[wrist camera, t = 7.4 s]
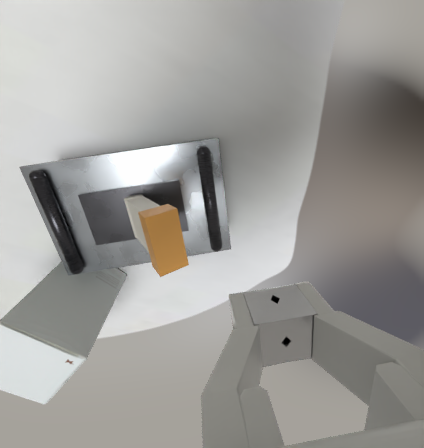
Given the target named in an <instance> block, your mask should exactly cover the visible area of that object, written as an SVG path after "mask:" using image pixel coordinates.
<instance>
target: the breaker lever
mask: <svg viewBox="0 0 424 448" xmlns="http://www.w3.org/2000/svg"><path fill="white" fill-rule="evenodd" d="M124 201H125V205H126V208H127V211H128V215H129V218H130V222H131V225H132V229H133V232H134V235H135V238H137V239H138V240H139V241H140V242H141V244H142V245H143V246H144V247H145V249H146V250H147V251H148V252H149V254H150V258H151V262H152V265H153V267H154V269H155V270H156V271H157V273H158V274H159V276H160V277H161V276H164V275H166V274H168V273H171V272H173V271H175V270H178V269H180V268H182V267H185V266H187V265H189V264H188V259H187V254H186V249H185V244H184V239H183V234H182V229H181V224H180V219H179V214H178V209H177V208H175V207H173V206H171V205H169V204H166V205H162V206H160V205H158V204H156V203H155V202H153V201H151V200H149V199H148V198H146V197H144V196H143V195H141V194H139V195H132V196H129V197H126V198H124Z"/></svg>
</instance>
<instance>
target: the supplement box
mask: <svg viewBox="0 0 424 448" xmlns="http://www.w3.org/2000/svg"><path fill="white" fill-rule="evenodd" d="M126 276H127V274H125V273H124V272H122V271H120V270H119V269H117V268H112V269H106V270H100V271H94V272H87V273H81V274H75V275H69V276H68V274H67V271H66V269H65V267H64V265H63V263H62V262H61V263H60V264H59V265H58V266H57V267H55V268H54V269H53V270H52V271H51V272H50V273H49V274H48V275H47V276H46V277H45V278H44V279H43V280H42V281H41V282H40V283H39V284H38V285H37V286H36V287H35V288H34V289H33V290H32V291H30V292H29V293H28V294H27V295H26V296H25V297H24V298H23V299H22V300H21V301H20V302H19V303H18V304H17V305H16V306H15V307H14V308H13V309H12V310H10V311H9V312H8V313H7V314H6V315H5V316H4V317H3V318H2V319H1V320H0V390H2V391H5V392H8V393H11V394H14V395H17V396H20V397H23V398H26V399H29V400H33V401H36V402H39V403H41V404H46V403H47V402H48V401H49V400H50V399H51V398H52V397H53V396H54V395H55V394H56V392H57V391H58V390H59V389H60V388H61V387H62V386H63V385H64V384H65V383H66V381H68V379H69V378H70V377H71V376H72V375H73V373H74V372H75V371H76V370H77V369H78V368H79V367H80V366H81V365H82V363H83V362H85V360H86V359H87V357H88V355H89V352H90V351H91V349H92V347H93V345H94V343H95V341H96V339H97V337H98V334H99V332H100V330H101V328H102V326H103V324H104V322H105V320H106V318H107V316H108V314H109V312H110V309H111V307H112V305H113V303H114V301H115V299H116V297H117V295H118V293H119V291H120V289H121V287H122V284H123V282H124V280H125V278H126Z"/></svg>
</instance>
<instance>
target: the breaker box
mask: <svg viewBox="0 0 424 448" xmlns="http://www.w3.org/2000/svg"><path fill="white" fill-rule="evenodd" d="M20 169H21V172H22V174H23V176H24V178H25V181H26V183H27V185H28V187H29V189H30V192H31V194H32V196H33V198H34V200H35V203H36V205H37V207H38V209H39V212H40V214H41V216H42V218H43V220H44V223H45V225H46V227H47V229H48V232H49V234H50V236H51V238H52V240H53V243H54V245H55V247H56V249H57V251H58V254H59V256H60V258H61V260H62V263H63V265H64V267H65V269H66V271H67V274H68V276H69V275H75V274H81V273H87V272H94V271H100V270H106V269H112V268H118V267H124V266H131V265H137V264H143V263H149V262H151V258H150V254H149V252H148V251H147V250H146V249H145V247H144V246H143V245H142V244H141V242H140V241H139V240H138V239H137V238H135V235H134V232H133V229H132V225H131V222H130V218H129V215H128V211H127V208H126V205H125V201H124V198H126V197H129V196H132V195H139V194H141V195H143V196H144V197H146V198H148V199H149V200H151V201H153V202H155V203H156V204H158V205H160V206H162V205H166V204H169V205H171V206H173V207H175V208H177V209H178V214H179V219H180V224H181V229H182V234H183V239H184V244H185V249H186V254H187V256H192V255H198V254H205V253H211V252H218V251H223V250H229V249H231V244H230V236H229V227H228V218H227V209H226V200H225V191H224V182H223V174H222V165H221V156H220V147H219V138H212V139H205V140H198V141H191V142H184V143H177V144H170V145H163V146H156V147H149V148H142V149H135V150H128V151H121V152H114V153H107V154H100V155H93V156H86V157H79V158H72V159H65V160H58V161H52V162H46V163H40V164H34V165H28V166H22V167H20Z"/></svg>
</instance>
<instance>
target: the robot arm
mask: <svg viewBox="0 0 424 448" xmlns="http://www.w3.org/2000/svg"><path fill="white" fill-rule="evenodd" d="M229 302H230V310H231V317H232V324H233V330H232V332H231V334H230V337H229V339H228V341H227V343H226V345H225V347H224V349H223V351H222V353H221V355H220V357H219V360H218V361H217V364H216V366H215V368H214V370H213V372H212V374H211V376H210V378H209V380H208V382H207V384H206V386H205V389H204V391H203V393H202V395H201V406H202V435H203V436H202V438H203V448H424V350H423V349H421V348H418V347H416V346H414V345H412V344H410V343H408V342H406V341H403V340H401V339H399V338H396V337H395V336H393V335H390V334H388V333H386V332H384V331H382V330H379V329H377V328H375V327H373V326H371V325H368V324H366V323H364V322H362V321H360V320H358V319H355V318H353V317H351V316H349V315H347V314H344V313H342V312H340V311H336V312H335V311H334V310H333V309H332V308H331V307H330V306H329V304H328V303H327V302H326V301H325V300H324V299H323V297H322V296H321V295H320V294H319V293H318V292H317V290H316V289H315V288H314V287H313V286H312V285H311V284H310V282H307V281H305V282H301V283H295V284H292V285H286V286H280V287H275V288H268V289H262V290H255V291H248V292H242V293H235V294H229ZM311 358H312V360H313V361H314V362H316V363H317V364H318V365H319V366H321V367H322V368H323V369H324V370H325V371H327V372H328V373H329V374H330V375H332V376H333V377H334V378H335V379H336V380H338V381H339V382H340V383H341V384H343V385H344V386H345V387H346V388H347V389H349V390H350V391H351V392H352V393H353V394H355V395H356V396H357V397H358V398H360V399H361V400H362V401H363V402H364V403H366V404H367V405H368V406H369V408H368V413H367V418H366V424H365V429H364V431H359V432H354V433H349V434H344V435H338V436H333V437H328V438H323V439H319V440H313V441H308V442H303V443H298V444H292V445H287V446H284V443H283V440H282V436H281V433H280V430H279V427H278V424H277V420H276V417H275V414H274V411H273V408H272V404H271V401H270V398H269V395H268V392H267V390H265V389H264V388H262V387H260V386H259V383H260V378H261V374H262V370H263V367H266V366H271V365H275V364H279V363H285V362H290V361H297V360H304V359H311Z"/></svg>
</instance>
